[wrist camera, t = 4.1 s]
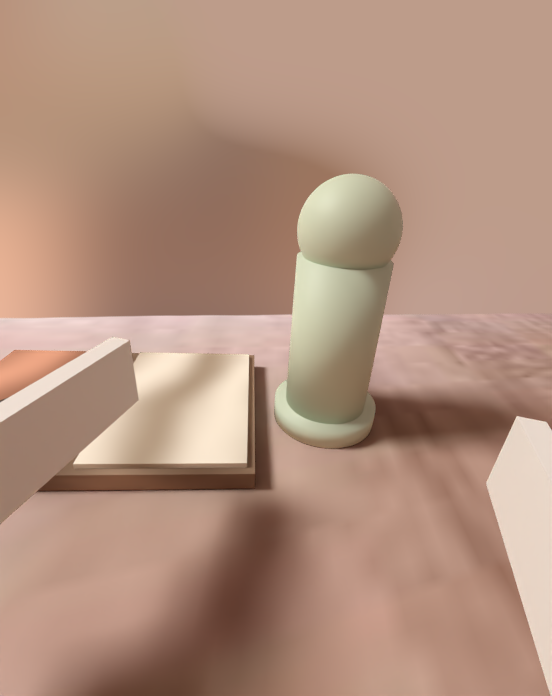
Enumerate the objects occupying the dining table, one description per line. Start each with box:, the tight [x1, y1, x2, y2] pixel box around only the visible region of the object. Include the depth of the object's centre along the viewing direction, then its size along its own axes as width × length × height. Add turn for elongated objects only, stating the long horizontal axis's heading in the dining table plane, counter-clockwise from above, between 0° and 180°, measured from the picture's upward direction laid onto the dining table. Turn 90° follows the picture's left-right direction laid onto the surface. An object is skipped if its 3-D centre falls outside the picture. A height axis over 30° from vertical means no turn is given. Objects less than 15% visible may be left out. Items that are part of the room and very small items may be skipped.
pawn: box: [274, 174, 403, 449], centre depth 20 cm, size 6×6×14 cm
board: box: [0, 350, 255, 491], centre depth 22 cm, size 18×12×1 cm, turn 93°
